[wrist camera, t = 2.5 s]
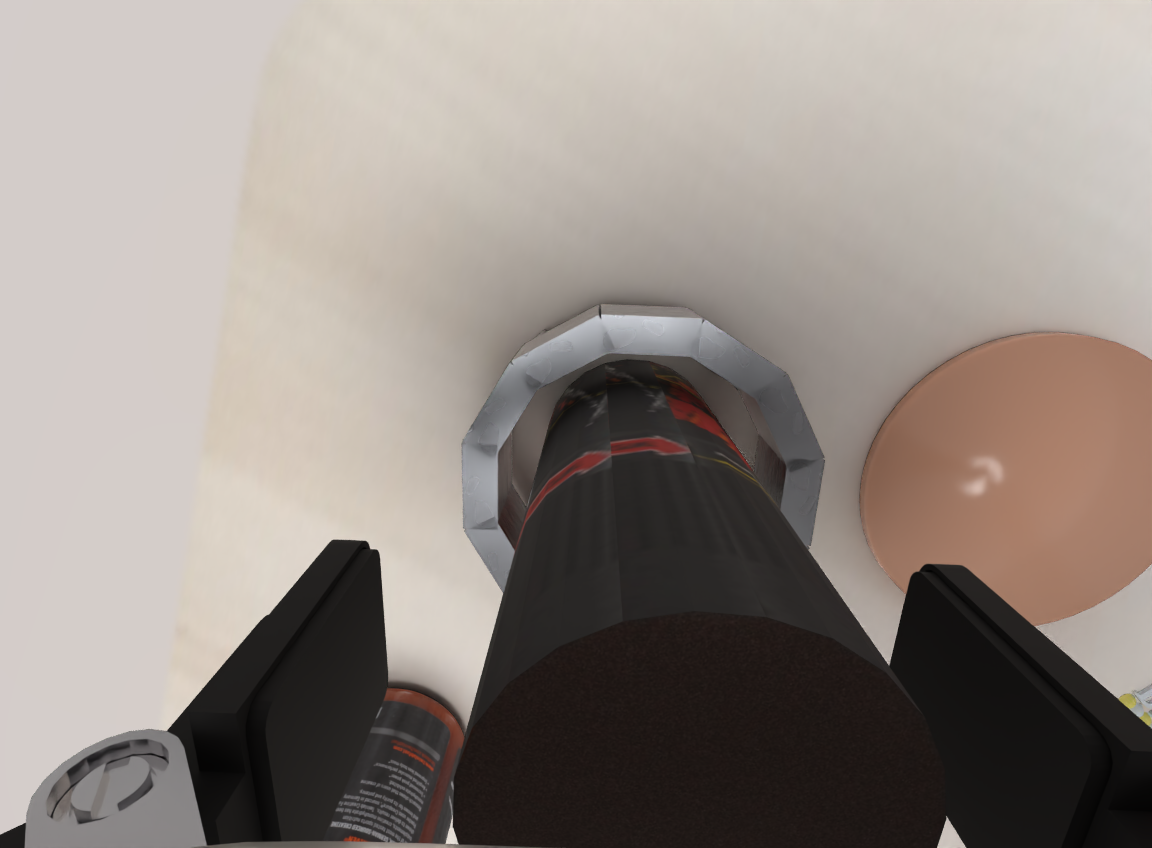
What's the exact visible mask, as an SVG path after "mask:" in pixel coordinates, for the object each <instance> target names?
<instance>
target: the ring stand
mask: <svg viewBox="0 0 1152 848" xmlns="http://www.w3.org/2000/svg"><path fill="white" fill-rule="evenodd" d="M608 353H616V354H639V355H663V356H686V357H691V358H693V359H694V360H696V361H697V362H699V363H701V364H702V365H704V366H705V367H707V368H708V369H710V370H711V371H713V372H715V373H716V374H718V375H719V376H721V377H722V378H724V379H725V380H727V381H728V382H730V383H731V384H732V385H733V386H734V387H735V388H736V389H737V390H739V392H740V395H741V397H742V399H743V401H744V403H745V405H746V408H747V410H748V412H749V414H750V416H751V418H752V420H753V423H754V425H755V427H756V429H757V431H758V433H759V436H758V443H757V451H756V458H755V466H754V473H755V475H756V476H757V477H758V479H759V480H760V482H761V483H762V485H763V486H764V488H765V489H766V490H767V492H768V493H769V495H770V496H771V498H772V499H773V500H774V502H775V503H776V505H777V506H778V508H779V509H780V510H781V512H782V513H783V515H784V516H785V518H786V519H787V521H788V522H789V523H790V525H791V526H792V528H793V529H794V531H795V532H796V533H797V535H798V536H799V538H800V539H801V541H802V542H803V543H804V545H805V546H806V548H807V549H809V546H811V541H812V535H813V529H814V523H815V517H816V511H817V505H818V499H819V493H820V487H821V481H822V475H823V469H824V463H825V460H824V459H823V458H824V455H823V453H822V451H821V449H820V446H819V444H818V442H817V439H816V437H815V435H814V433H813V430H812V428H811V426H810V424H809V421H808V419H807V417H806V414H805V412H804V410H803V408H802V405H801V403H800V401H799V399H798V396H797V394H796V392H795V389H794V387H793V385H792V383H791V380H790V378H789V376H788V375H787V374H786V372H784V371H783V370H781V369H780V368H778V367H777V366H775V365H774V364H772V363H771V362H769V361H768V360H766V359H765V358H763V357H762V356H760V355H759V354H757V353H756V352H754V351H753V350H751V349H750V348H748V347H747V346H745V345H744V344H742V343H741V342H739V341H738V340H736V339H735V338H733V337H732V336H730V335H728V334H727V333H725V332H724V331H722V330H721V329H719V328H718V327H716V326H715V325H713V324H712V323H710V322H709V321H707V320H706V319H704V318H703V317H701V316H700V315H698V314H697V313H695V312H694V311H692V310H690V309H689V308H686V307H667V306H642V305H617V304H601V308H600V307H599V305H596V306H594V307H593V308H591V309H589V310H587V311H585V312H583V313H581V314H579V315H578V316H576V317H574V318H572V319H570V320H568V321H566V322H564V323H562V324H561V325H559V326H557V327H555V328H553V329H551V330H549V331H546V330H545V329H544V330H543V331H542V332H541V333H540V334H539V335H538V336H537V337H536V338H534V339H532V340H530V341H529V342H527V343H525V344H524V345H523V346H522V347H521V348H520V350H519V351H518V352H517V354H516V355H515V356H514V358H513V359H512V360H511V362H510V363H509V365H508V366H507V368H506V370H505V371H504V373H503V375H502V376H501V378H500V380H499V381H498V383H497V385H496V386H495V388H494V390H493V391H492V393H491V394H490V396H489V398H488V399H487V401H486V403H485V404H484V406H483V408H482V409H481V411H480V413H479V414H478V416H477V418H476V419H475V421H474V423H473V424H472V426H471V428H470V429H469V431H468V433H467V434H466V436H465V438H464V439H463V442H462V485H463V529H465V530H464V532H465V533H466V535H467V536H468V538H469V540H470V541H471V543H472V544H473V546H474V547H475V549H476V551H477V552H478V554H479V555H480V557H481V559H482V560H483V562H484V563H485V565H486V566H487V568H488V570H489V571H490V573H491V574H492V576H493V578H494V579H495V581H496V582H497V584H498V585H499V587H500V589H501V590H502V592H503V593H504V590H505V586H506V582H507V579H508V575H509V571H510V567H511V564H512V560H513V556H514V553H515V549H516V545H517V542H518V538H519V534H520V530H521V527H522V523H523V519H524V516H525V512H526V506H525V505H524V503H523V501H522V500H521V498H520V496H519V495H518V493H517V491H516V490H515V488H514V486H513V485H512V429H513V428H514V426H515V424H516V423H517V421H518V420H519V418H520V416H521V415H522V413H523V412H524V410H525V408H526V407H527V405H528V404H529V402H530V400H531V399H532V397H533V396H534V394H535V392H536V391H537V390H538V389H540V388H542V387H544V386H545V385H547V384H549V383H551V382H553V381H555V380H557V379H559V378H561V377H563V376H565V375H567V374H569V373H571V372H573V371H575V370H577V369H579V368H580V367H582V366H584V365H586V364H588V363H590V362H592V361H594V360H596V359H598V358H600V357H602V356H604V355H606V354H608Z"/></svg>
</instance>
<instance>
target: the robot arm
mask: <svg viewBox="0 0 1152 848" xmlns="http://www.w3.org/2000/svg"><path fill="white" fill-rule="evenodd" d="M889 667H890V668H891V670H892V671H893V672H894V674H895V675H896V677H897V678H898V680H899V681H900V683H901V684H902V685H903V687H904V688H905V690H906V691H907V693H908V694H909V695H910V697H911V698H912V700H913V701H914V703H915V704H916V705H917V707H918V708H919V710H920V711H921V713H922V714H923V715H924V717H925V719H926V721H927V724H928V726H929V729H930V731H931V734H932V737H933V739H934V742H935V744H936V747H937V749H938V752H939V754H940V757H941V759H942V762H943V765H944V767H945V790H946V816H947V817H948V819H949V821H950V822H951V824H952V825H953V827H954V829H955V830H956V832H957V833H958V835H959V837H960V838H961V840H962V841H963V843H964V845H965V846H966V848H1152V728H1151V727H1149V726H1148V725H1147V724H1146V723H1145V722H1144V721H1143V720H1141V719H1140V718H1139V717H1138V716H1137V715H1136V714H1134V713H1133V712H1132V711H1131V710H1130V709H1129V708H1128V707H1126V706H1125V705H1124V704H1123V703H1122V702H1121V701H1120V700H1118V699H1117V698H1116V697H1115V696H1114V695H1113V694H1111V693H1110V692H1109V691H1108V690H1107V689H1106V688H1105V687H1103V686H1102V685H1101V684H1100V683H1099V682H1098V681H1096V680H1095V679H1094V678H1093V677H1092V676H1091V675H1090V674H1088V673H1087V672H1086V671H1085V670H1084V669H1083V668H1082V667H1080V666H1079V665H1078V664H1077V663H1076V662H1075V661H1073V660H1072V659H1071V658H1070V657H1069V656H1068V655H1067V654H1065V653H1064V652H1063V651H1062V650H1061V649H1060V648H1058V647H1057V646H1056V645H1055V644H1054V643H1053V642H1052V641H1050V640H1049V639H1048V638H1047V637H1046V636H1045V635H1044V634H1042V633H1041V632H1040V631H1039V630H1038V629H1037V628H1035V627H1034V626H1033V625H1032V624H1031V623H1030V622H1029V621H1027V620H1026V619H1025V618H1024V617H1023V616H1022V615H1020V614H1019V613H1018V612H1017V611H1016V610H1015V609H1014V608H1012V607H1011V606H1010V605H1009V604H1008V603H1007V602H1006V601H1004V600H1003V599H1002V598H1001V597H1000V596H999V595H997V594H996V593H995V592H994V591H993V590H992V589H991V588H989V587H988V586H987V585H986V584H985V583H984V582H982V581H981V580H980V579H979V578H978V577H977V576H976V575H974V574H973V573H972V572H971V571H970V570H969V569H968V568H966V567H964V566H963V565H950V564H925V565H923V566H922V568H921V569H920V571H919V572H918V571H916V572H914V573H913V574H912V575H911V577H910V580H909V584H908V589H907V593H906V597H905V602H904V606H903V610H902V614H901V619H900V623H899V627H898V632H897V636H896V640H895V644H894V649H893V653H892V657H891V662H890V666H889ZM387 686H388V666H387V651H386V637H385V623H384V608H383V594H382V580H381V566H380V555H379V552H378V550H375V549H370V547H369V544H368V542H367V541H356V540H332V541H331V542H330V543H329V544H328V545H327V546H326V547H325V549H324V550H323V551H322V552H321V553H320V555H319V556H318V557H317V558H316V559H315V560H314V562H313V563H312V564H311V565H310V566H309V568H308V569H307V570H306V571H305V572H304V574H303V575H302V576H301V577H300V578H299V580H298V581H297V582H296V583H295V584H294V586H293V587H292V588H291V589H290V590H289V591H288V593H287V594H286V595H285V596H284V597H283V599H282V600H281V601H280V602H279V603H278V605H277V606H276V607H275V608H274V609H273V611H272V612H271V613H270V614H269V615H266V616H265V617H264V618H263V619H262V620H261V621H260V622H259V623H258V624H257V625H256V627H255V628H254V629H253V630H252V631H251V632H250V634H249V635H248V636H247V637H246V638H245V640H244V641H243V642H242V643H241V644H240V645H239V647H238V648H237V649H236V650H235V651H234V653H233V654H232V655H231V656H230V657H229V658H228V660H227V661H226V662H225V663H224V664H223V665H222V667H221V668H220V669H219V670H218V671H217V673H216V674H215V675H214V676H213V677H212V678H211V680H210V681H209V682H208V683H207V684H206V686H205V687H204V688H203V689H202V690H201V691H200V693H199V694H198V695H197V696H196V697H195V699H194V700H193V701H192V702H191V703H190V704H189V706H188V707H187V708H186V709H185V710H184V711H183V713H182V714H181V715H180V716H179V717H178V719H177V720H176V721H175V722H174V723H173V724H172V726H171V727H170V728H169V729H168V730H167V731H162V730H154V729H146V730H138V731H129V732H126V733H123V734H120V735H116V736H113V737H110V738H107V739H104V740H102V741H100V742H98V743H96V744H94V745H92V746H89V747H87V748H85V749H83V750H82V751H80V752H79V753H77V754H76V755H74V756H73V757H71V758H70V759H68V760H67V761H65V762H64V763H62V764H61V765H60V766H59V767H58V768H57V769H56V770H54V771H53V772H52V773H51V774H50V775H49V776H48V777H47V778H46V779H45V780H44V781H43V782H42V784H41V785H40V786H39V788H38V789H37V791H36V792H35V793H34V795H33V796H32V798H31V801H30V804H29V807H28V811H27V815H26V823H24V824H22V825H20V826H18V827H16V828H14V829H11V830H10V831H7V832H5V833H3V834H1V835H0V848H541V847H514V846H486V845H458V844H430V843H391V842H351V841H323V838H324V836H325V834H326V831H327V829H328V827H329V825H330V822H331V820H332V818H333V815H334V813H335V811H336V809H337V806H338V804H339V802H340V799H341V797H342V795H343V792H344V790H345V788H346V786H347V783H348V781H349V779H350V776H351V774H352V772H353V770H354V767H355V765H356V763H357V760H358V758H359V756H360V754H361V751H362V749H363V747H364V744H365V742H366V740H367V737H368V735H369V733H370V731H371V728H372V726H373V724H374V721H375V719H376V717H377V715H378V712H379V710H380V708H381V705H382V703H383V701H384V698H385V695H386V691H387Z"/></svg>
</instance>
